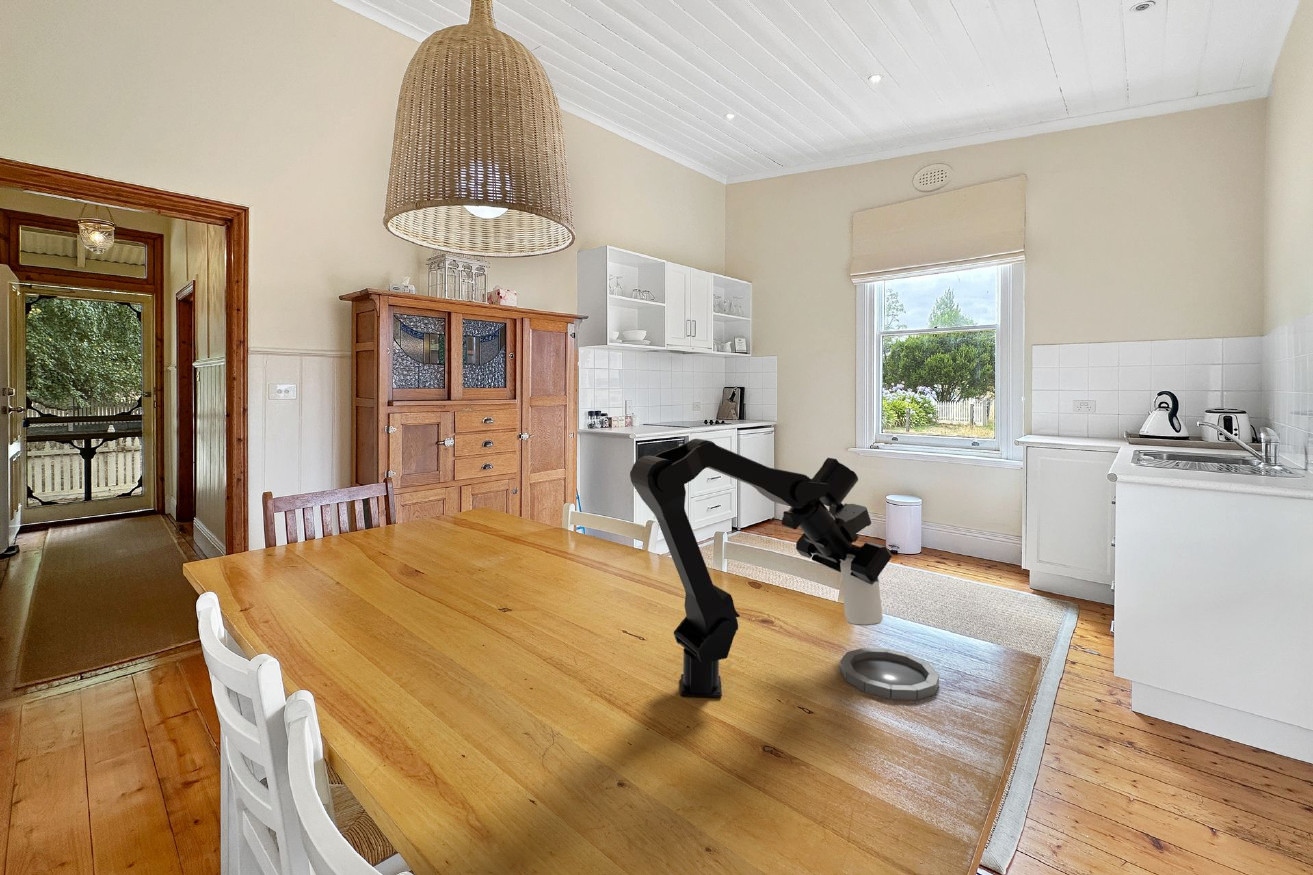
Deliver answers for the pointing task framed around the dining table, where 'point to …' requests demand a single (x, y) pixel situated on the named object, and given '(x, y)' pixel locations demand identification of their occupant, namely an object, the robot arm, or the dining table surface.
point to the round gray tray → (889, 673)
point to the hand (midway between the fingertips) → (863, 579)
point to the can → (860, 598)
